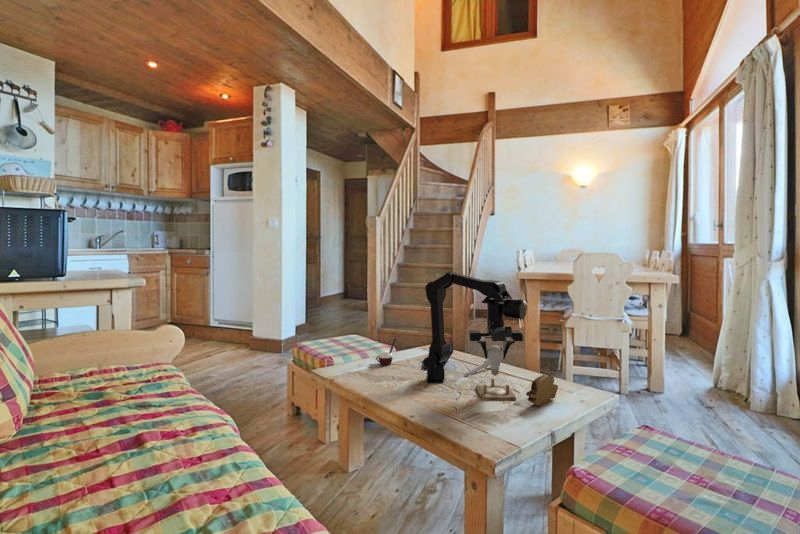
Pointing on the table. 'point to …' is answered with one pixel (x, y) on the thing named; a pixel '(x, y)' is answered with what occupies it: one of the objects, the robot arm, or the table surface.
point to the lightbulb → (495, 358)
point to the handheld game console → (446, 360)
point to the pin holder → (495, 392)
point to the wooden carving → (542, 390)
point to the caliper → (478, 367)
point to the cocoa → (386, 356)
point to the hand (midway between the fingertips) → (494, 359)
